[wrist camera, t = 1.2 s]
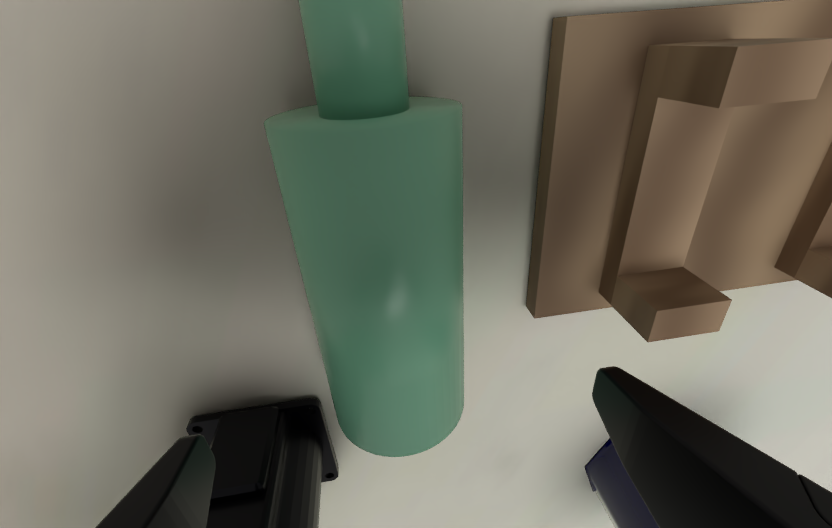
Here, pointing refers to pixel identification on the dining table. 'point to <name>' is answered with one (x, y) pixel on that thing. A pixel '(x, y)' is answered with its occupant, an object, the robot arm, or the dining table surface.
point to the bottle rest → (683, 162)
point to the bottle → (617, 490)
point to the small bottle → (377, 228)
